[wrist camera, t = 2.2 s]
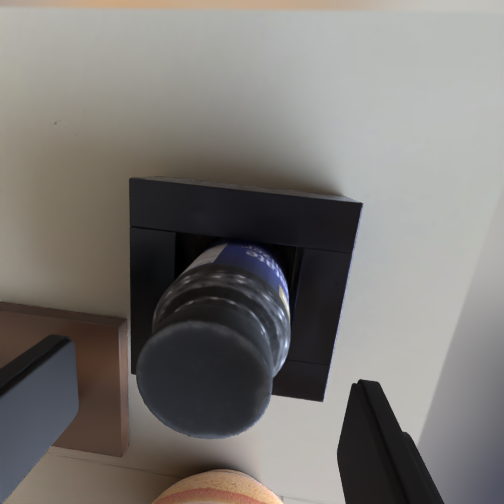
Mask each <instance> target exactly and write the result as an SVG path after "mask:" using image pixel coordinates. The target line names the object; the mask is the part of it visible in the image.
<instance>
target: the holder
mask: <svg viewBox="0 0 504 504" xmlns="http://www.w3.org/2000/svg"><path fill="white" fill-rule="evenodd" d="M129 202H130V226H131V227H130V313H131V374H134V375H136V365H137V360H138V357H139V355H140V352H141V350H142V348H143V346H144V344H145V343H146V341H147V340H148V339H149V337H150V336H151V335H152V322H153V315H154V312H155V308H156V307H157V304H158V302H159V300H160V298H161V296H162V295H163V294H164V292H165V291H166V289H167V288H168V287H169V286H170V285H171V284H172V283H173V282H174V281H175V280H176V279H177V278H178V277H179V276H180V275H181V274H182V273H183V272H184V271H185V270H186V269H187V268H188V267H189V266H190V265H191V264H192V263H193V262H194V247H195V234H197V235H205V236H213V237H222V238H230V239H239V240H247V241H256V242H264V243H273V244H281V245H289V246H297V247H296V254H295V261H294V268H293V275H292V282H291V288H290V295H289V315H290V329H291V338H290V344H289V350H288V354H287V357H286V359H285V361H284V363H283V365H282V367H281V369H280V370H279V371H278V372H277V375H275V376H274V377H273V381H272V392H271V395H277V396H284V397H291V398H298V399H305V400H311V401H318V402H324V398H325V393H326V388H327V383H328V378H329V373H330V368H331V363H332V358H333V353H334V348H335V343H336V338H337V333H338V328H339V323H340V318H341V313H342V308H343V303H344V298H345V293H346V288H347V283H348V278H349V273H350V268H351V263H352V258H353V252H354V248H355V243H356V238H357V233H358V228H359V223H360V218H361V213H362V208H363V203H361V202H358V201H356V200H353V199H351V198H348V197H345V196H337V195H328V194H318V193H309V192H300V191H291V190H281V189H272V188H263V187H254V186H244V185H235V184H226V183H217V182H207V181H198V180H189V179H180V178H170V177H161V176H155V177H134V178H130V179H129Z"/></svg>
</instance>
